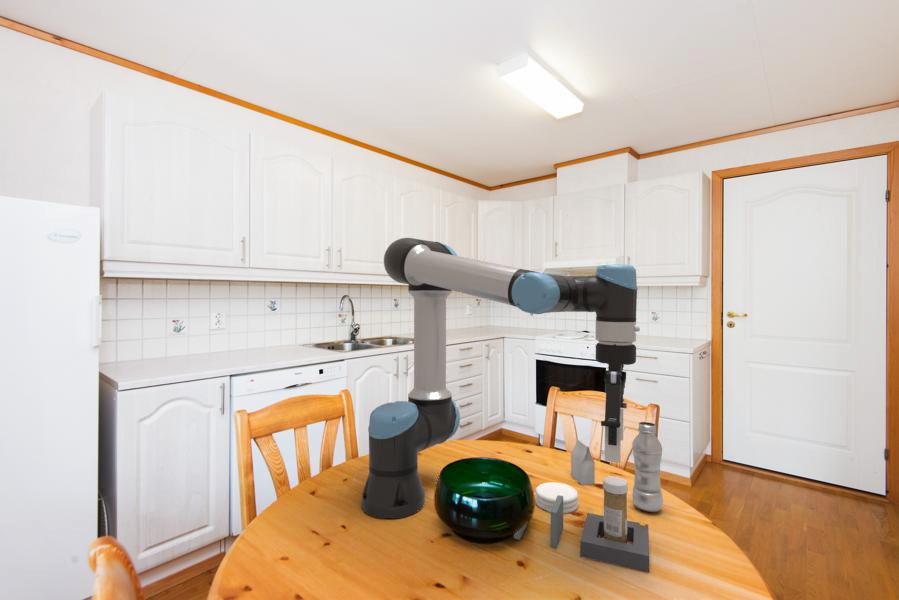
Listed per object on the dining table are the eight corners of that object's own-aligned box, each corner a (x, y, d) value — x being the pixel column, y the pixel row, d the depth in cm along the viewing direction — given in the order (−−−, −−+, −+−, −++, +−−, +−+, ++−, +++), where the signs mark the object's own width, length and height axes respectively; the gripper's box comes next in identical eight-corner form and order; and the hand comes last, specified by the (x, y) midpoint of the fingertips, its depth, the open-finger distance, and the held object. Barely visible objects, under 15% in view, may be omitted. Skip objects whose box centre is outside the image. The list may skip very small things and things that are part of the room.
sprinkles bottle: (632, 549, 85) (632, 481, 85) (618, 557, 82) (618, 486, 82) (612, 538, 89) (612, 473, 89) (598, 545, 86) (598, 478, 86)
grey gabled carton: (581, 485, 114) (581, 447, 114) (571, 475, 121) (570, 439, 121) (594, 484, 115) (594, 447, 115) (583, 474, 121) (583, 439, 121)
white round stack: (559, 492, 111) (559, 478, 111) (587, 509, 102) (587, 494, 102) (527, 500, 106) (527, 485, 106) (553, 518, 97) (553, 503, 97)
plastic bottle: (650, 518, 97) (650, 429, 97) (625, 505, 103) (625, 422, 103) (669, 512, 100) (669, 425, 100) (644, 500, 106) (644, 418, 106)
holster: (513, 538, 89) (513, 504, 89) (523, 520, 96) (523, 488, 96) (556, 548, 85) (556, 513, 85) (563, 528, 93) (563, 496, 93)
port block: (580, 556, 82) (580, 539, 82) (587, 526, 93) (587, 510, 93) (649, 572, 78) (649, 554, 78) (648, 539, 89) (648, 522, 89)
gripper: (635, 350, 73) (634, 476, 73) (636, 338, 95) (635, 433, 96) (589, 348, 76) (587, 468, 76) (600, 336, 98) (599, 429, 99)
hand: (614, 449), depth 86 cm, fingers open, 13 cm apart
